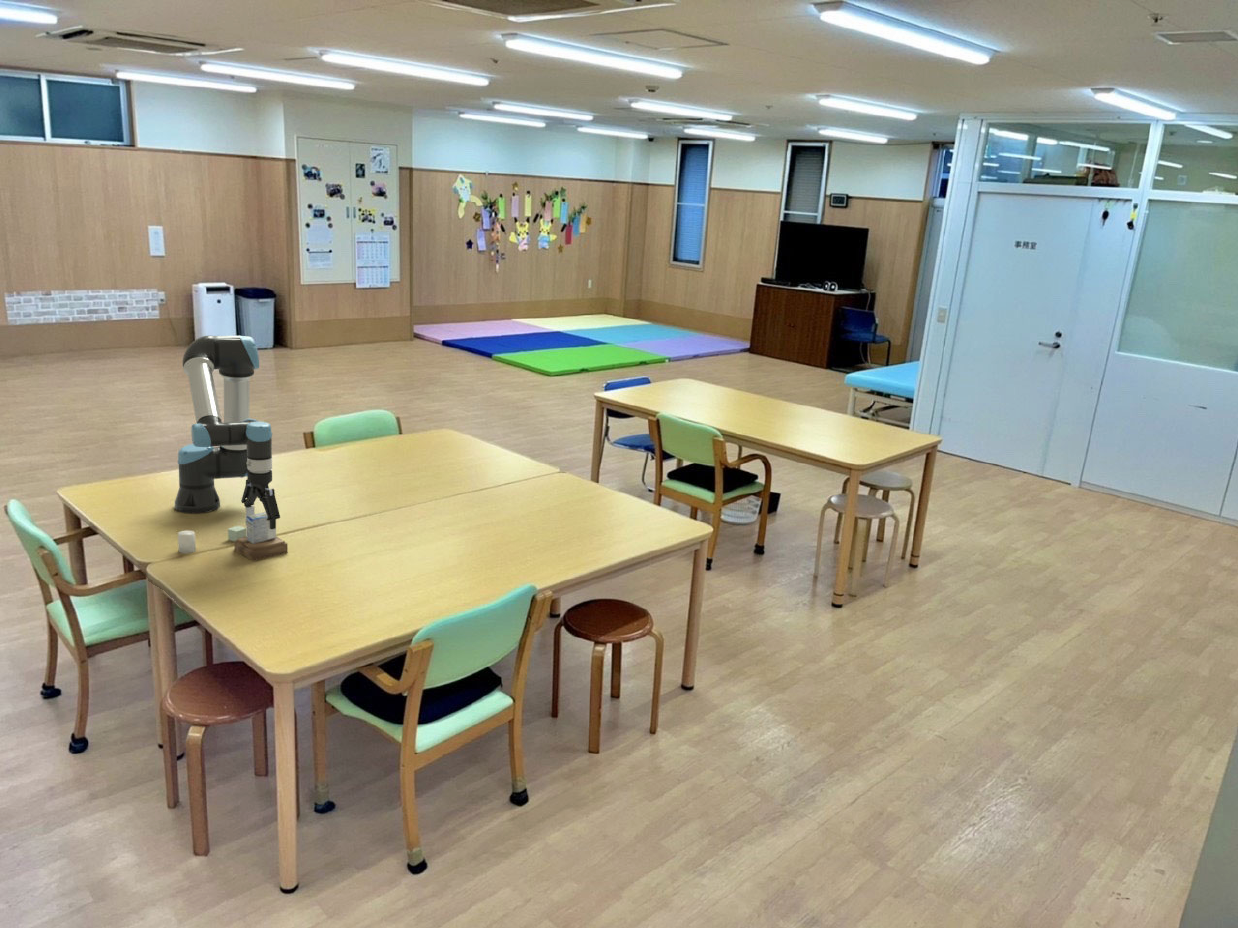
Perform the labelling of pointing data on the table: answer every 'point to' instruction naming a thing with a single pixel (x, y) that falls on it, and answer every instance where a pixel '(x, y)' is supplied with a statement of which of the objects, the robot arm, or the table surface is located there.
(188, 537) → the white rounded capsule
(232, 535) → the sage block
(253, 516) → the medicine box
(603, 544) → the table surface
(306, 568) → the table surface
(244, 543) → the podium
